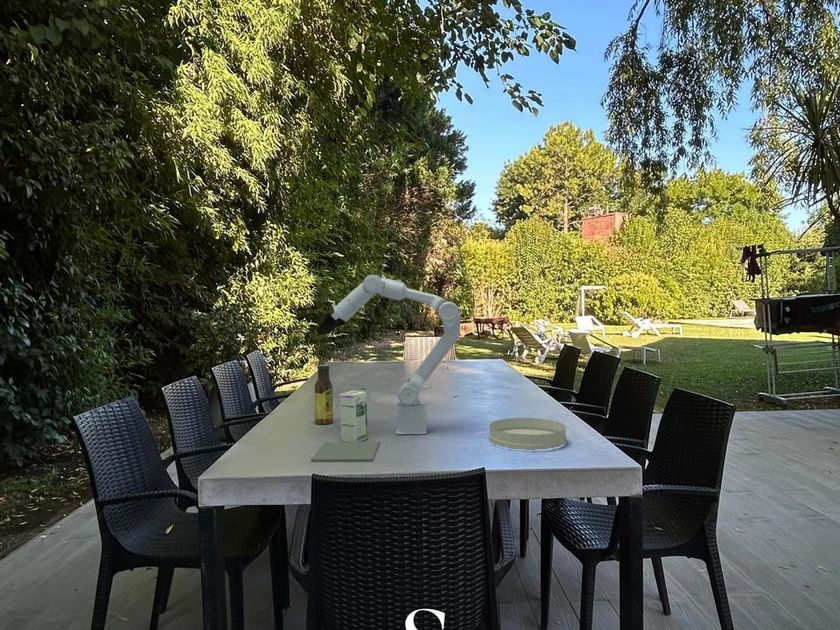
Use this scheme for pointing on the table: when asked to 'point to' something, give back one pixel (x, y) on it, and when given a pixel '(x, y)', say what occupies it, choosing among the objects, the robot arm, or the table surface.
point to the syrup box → (353, 416)
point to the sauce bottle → (323, 396)
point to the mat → (346, 451)
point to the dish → (527, 433)
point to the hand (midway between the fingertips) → (320, 332)
